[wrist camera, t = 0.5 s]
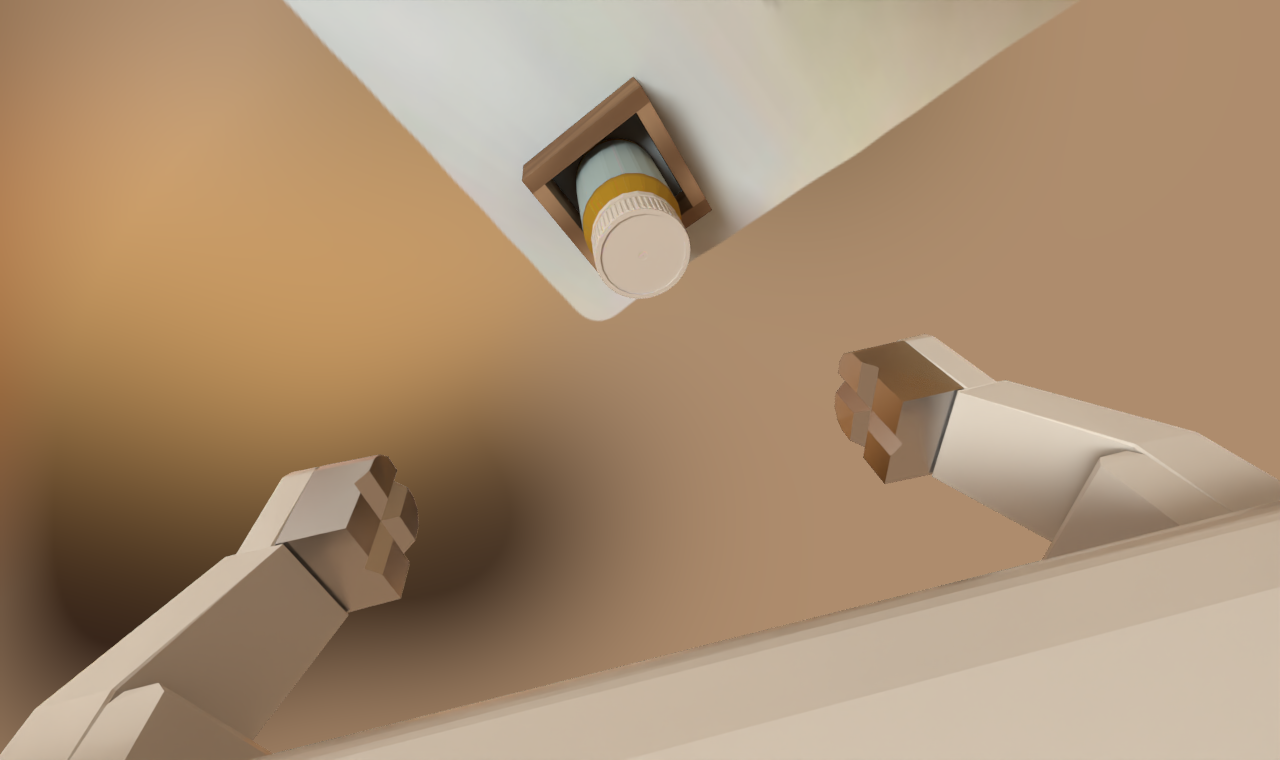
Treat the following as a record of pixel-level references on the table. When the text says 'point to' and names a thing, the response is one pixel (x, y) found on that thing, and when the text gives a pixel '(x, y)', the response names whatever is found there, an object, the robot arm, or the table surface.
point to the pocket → (589, 134)
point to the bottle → (630, 220)
